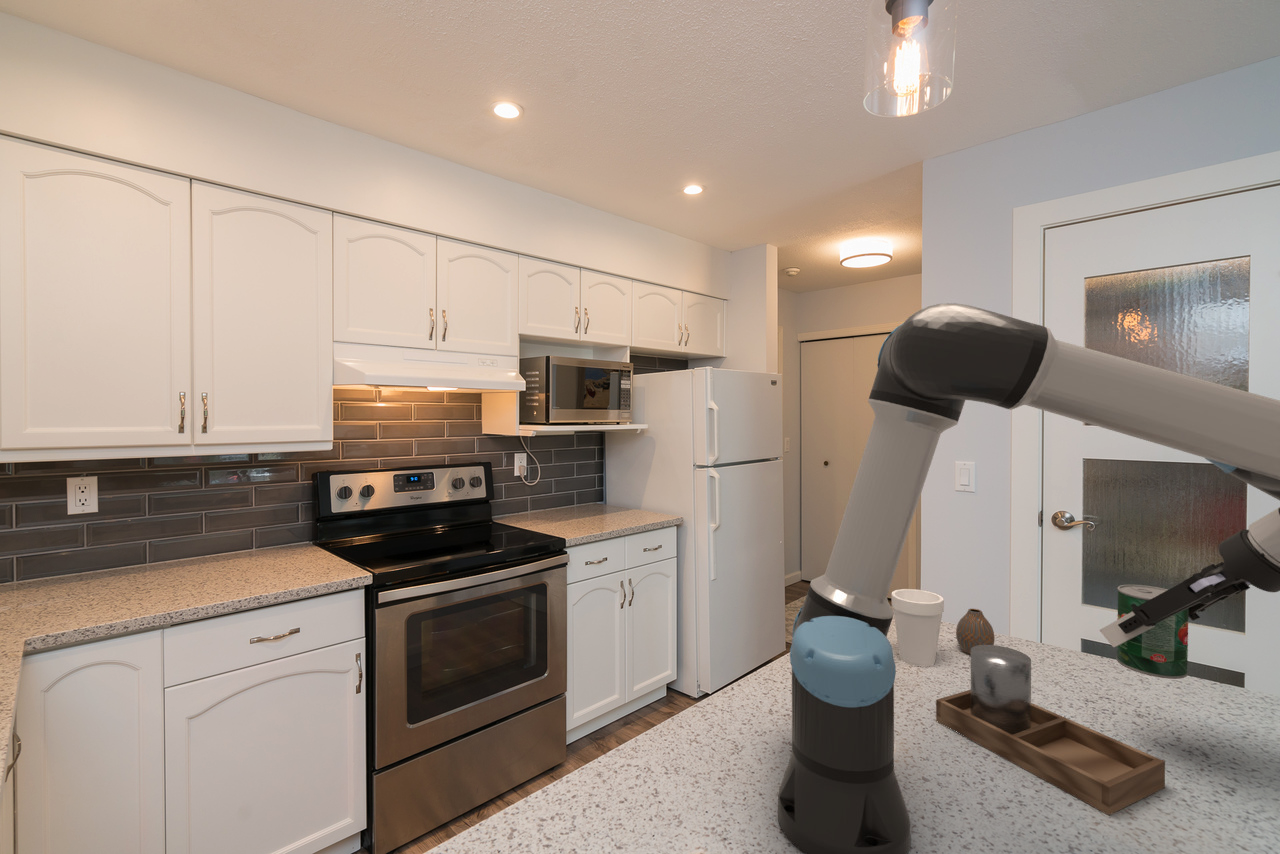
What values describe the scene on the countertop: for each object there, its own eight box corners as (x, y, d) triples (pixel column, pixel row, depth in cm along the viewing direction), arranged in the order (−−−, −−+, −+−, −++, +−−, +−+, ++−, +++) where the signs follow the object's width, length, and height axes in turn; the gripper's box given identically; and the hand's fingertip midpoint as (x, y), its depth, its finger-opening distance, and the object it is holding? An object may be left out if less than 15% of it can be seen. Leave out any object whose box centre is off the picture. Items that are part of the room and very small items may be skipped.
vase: (964, 643, 126) (964, 602, 126) (999, 653, 121) (999, 610, 120) (950, 651, 121) (950, 609, 121) (986, 662, 116) (986, 618, 116)
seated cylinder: (1029, 745, 85) (1030, 670, 85) (967, 728, 90) (967, 657, 90) (1031, 721, 92) (1032, 652, 92) (973, 707, 97) (973, 641, 96)
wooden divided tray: (1164, 787, 77) (1165, 761, 77) (1108, 815, 72) (1109, 787, 72) (988, 704, 99) (988, 684, 99) (936, 721, 94) (936, 699, 94)
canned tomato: (1203, 679, 82) (1205, 601, 81) (1146, 678, 82) (1148, 601, 82) (1154, 655, 90) (1156, 584, 89) (1102, 655, 90) (1104, 584, 90)
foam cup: (932, 651, 122) (932, 589, 121) (951, 671, 112) (951, 604, 112) (885, 650, 122) (885, 588, 122) (900, 669, 113) (900, 602, 113)
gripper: (1265, 588, 67) (1103, 670, 82) (1341, 568, 76) (1181, 646, 91) (1206, 533, 72) (1063, 620, 87) (1284, 521, 80) (1141, 602, 95)
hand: (1124, 634), depth 89 cm, fingers closed on canned tomato, 8 cm apart
